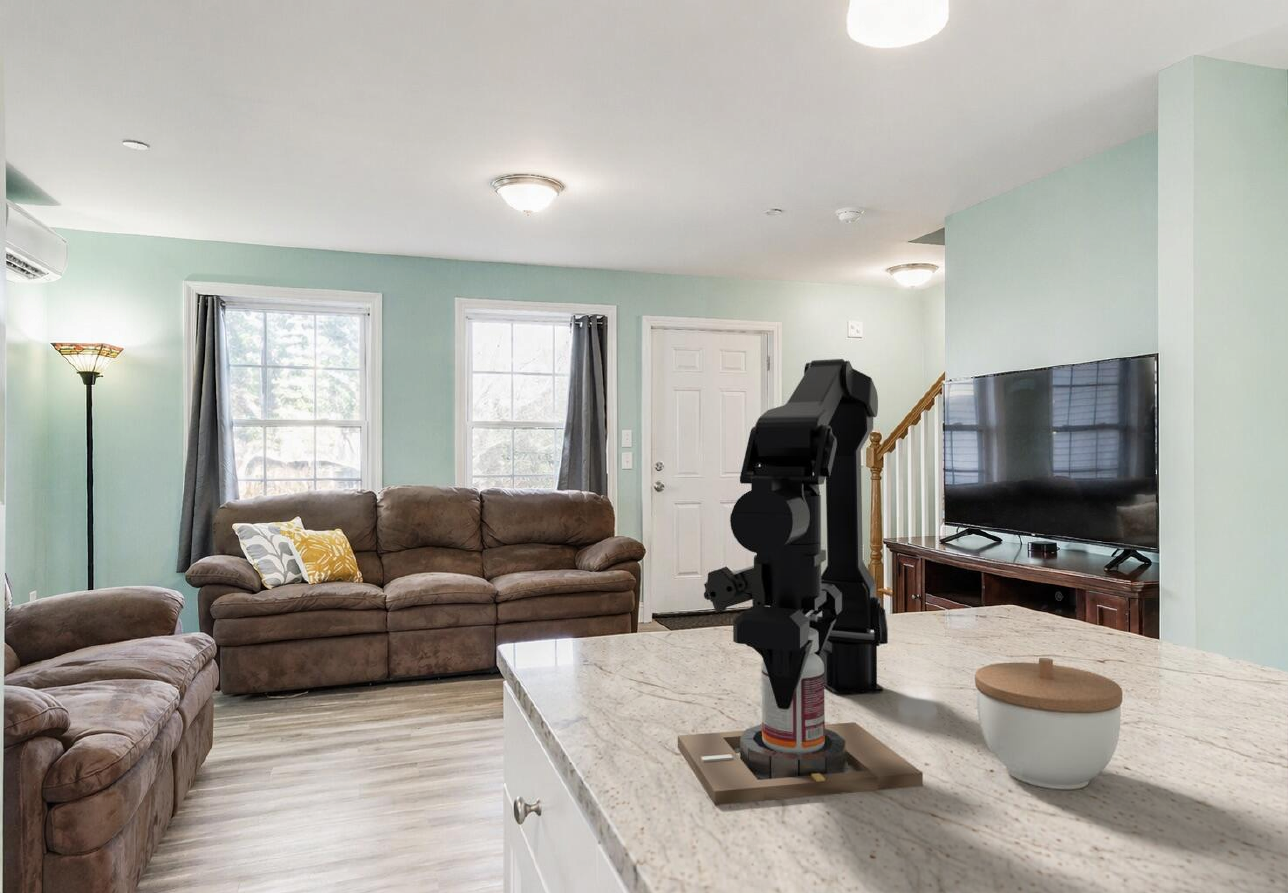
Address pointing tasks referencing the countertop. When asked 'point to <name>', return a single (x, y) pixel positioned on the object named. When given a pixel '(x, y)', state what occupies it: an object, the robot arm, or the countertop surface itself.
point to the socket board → (793, 765)
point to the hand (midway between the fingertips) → (792, 698)
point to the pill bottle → (796, 709)
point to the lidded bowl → (1049, 721)
